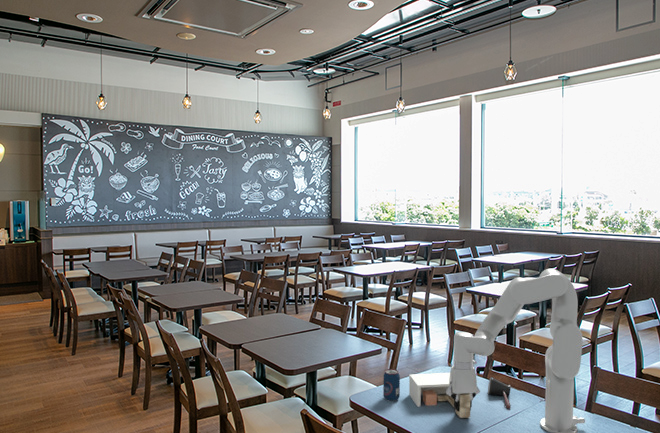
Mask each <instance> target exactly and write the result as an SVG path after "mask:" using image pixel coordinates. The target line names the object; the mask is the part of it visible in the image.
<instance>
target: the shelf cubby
mask: <svg viewBox="0 0 660 433" xmlns="http://www.w3.org/2000/svg"><path fill="white" fill-rule="evenodd" d="M408 376H409V381H408V382H409V384H408V386H409V387H408V388H409V389H408V393H409V397H410V398H411V399H412V401H413V403H414V404H415V405H416V406H417V408H418V407H419V408H420V407H421V396H423V391H428V390H433V391H434V392H435V393H436V394H437V395H448V394H447V393H446V390H447V389H448V387H449V377H450V372H436V373H434V372H432V373H418V374H417V373H416V374H413V373H412V374H409V375H408ZM451 393H453V391H451ZM453 394H454V393H453Z"/></svg>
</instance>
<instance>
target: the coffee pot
mask: <svg viewBox="0 0 660 433" xmlns="http://www.w3.org/2000/svg"><path fill="white" fill-rule="evenodd" d="M510 393H511V384H506V383H504V382H502V381H500V380H498V379H496V378H494V377H492V376H491V377H490V378H489V381H488V386H487V394H488V395H489V396H491V395H494V396H496V395H498V396H501V395H502V396H503V398H504V403H505V404H504V405H503V408H504V409H508V410H510V409H511V408H512V407H511V406H512V405H511V403H510V400H509V399H508V397H510V395H511V394H510Z"/></svg>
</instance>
